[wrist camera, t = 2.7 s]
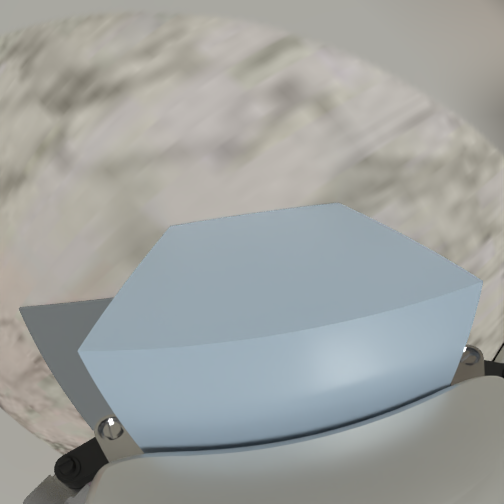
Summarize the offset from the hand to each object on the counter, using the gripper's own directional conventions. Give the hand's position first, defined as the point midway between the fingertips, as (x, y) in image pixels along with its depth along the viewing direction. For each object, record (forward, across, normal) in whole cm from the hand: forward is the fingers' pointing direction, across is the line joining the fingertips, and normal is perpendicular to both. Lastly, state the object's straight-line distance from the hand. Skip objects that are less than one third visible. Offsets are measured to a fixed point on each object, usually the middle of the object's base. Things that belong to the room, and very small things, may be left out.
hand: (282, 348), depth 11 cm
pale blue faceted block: (+3, 0, 0) cm, 3 cm away
